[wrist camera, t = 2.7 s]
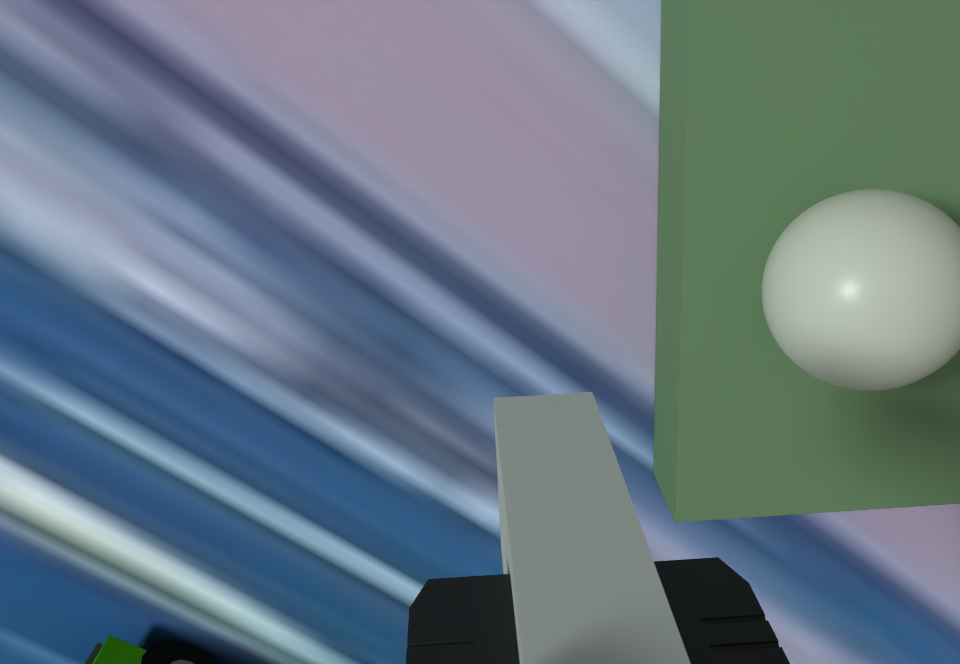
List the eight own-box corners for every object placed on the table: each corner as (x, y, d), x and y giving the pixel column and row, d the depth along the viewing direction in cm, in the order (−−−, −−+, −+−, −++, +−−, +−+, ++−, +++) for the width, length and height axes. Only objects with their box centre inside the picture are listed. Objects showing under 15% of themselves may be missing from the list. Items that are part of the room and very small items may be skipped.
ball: (905, 341, 25) (1010, 418, 21) (731, 353, 25) (797, 432, 20) (927, 166, 23) (1047, 206, 19) (740, 177, 23) (814, 220, 19)
